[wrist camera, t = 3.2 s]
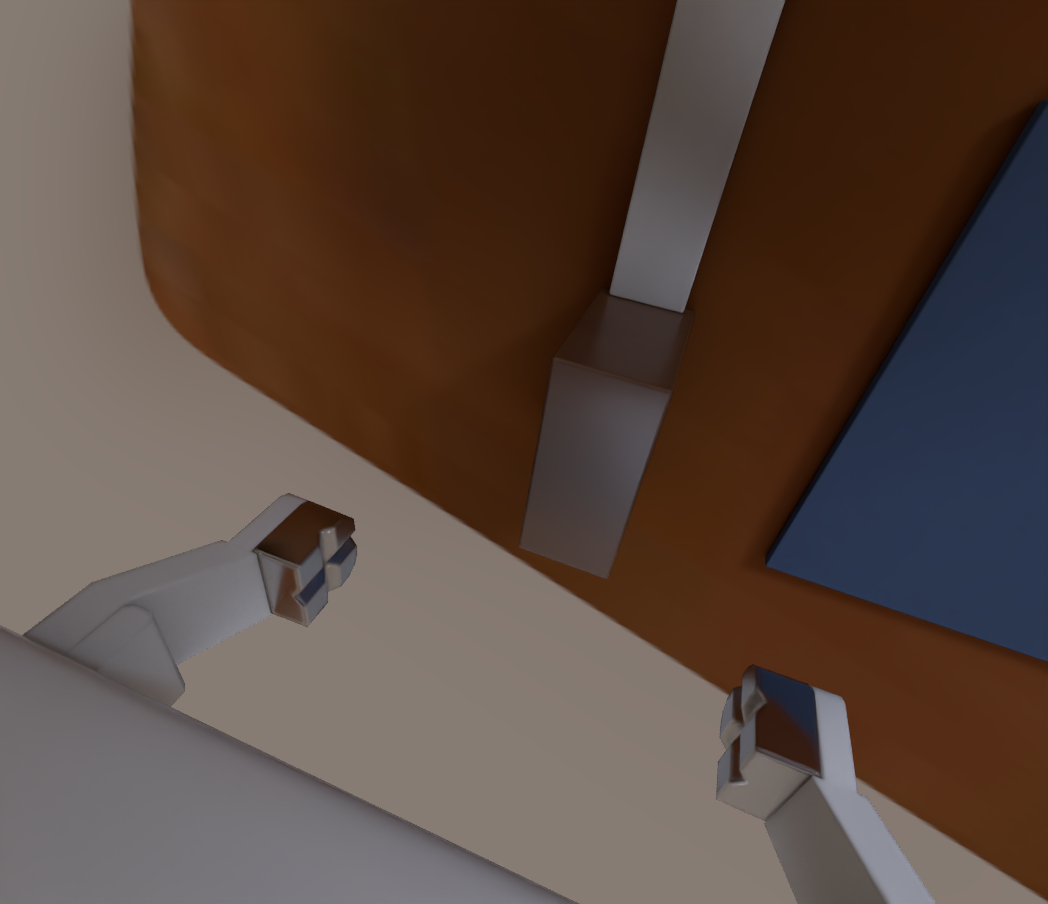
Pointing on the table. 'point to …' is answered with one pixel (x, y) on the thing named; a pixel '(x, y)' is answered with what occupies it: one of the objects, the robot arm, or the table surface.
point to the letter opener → (644, 290)
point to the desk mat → (952, 438)
